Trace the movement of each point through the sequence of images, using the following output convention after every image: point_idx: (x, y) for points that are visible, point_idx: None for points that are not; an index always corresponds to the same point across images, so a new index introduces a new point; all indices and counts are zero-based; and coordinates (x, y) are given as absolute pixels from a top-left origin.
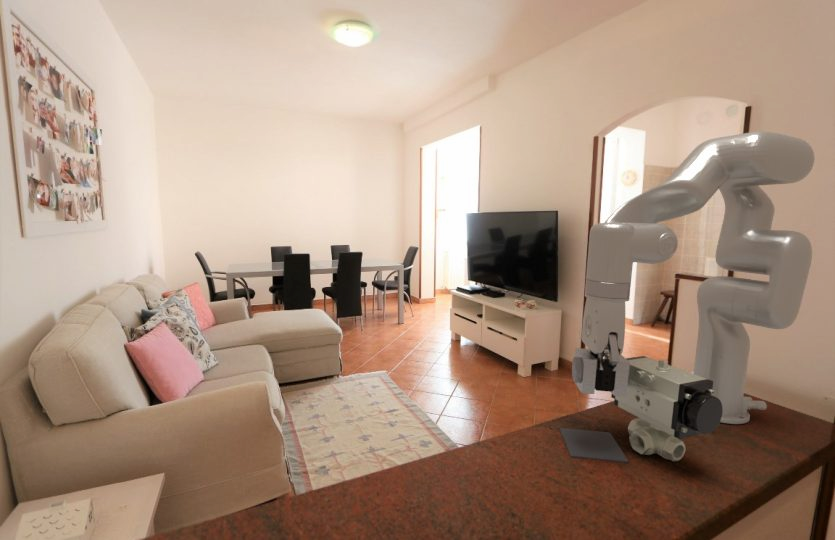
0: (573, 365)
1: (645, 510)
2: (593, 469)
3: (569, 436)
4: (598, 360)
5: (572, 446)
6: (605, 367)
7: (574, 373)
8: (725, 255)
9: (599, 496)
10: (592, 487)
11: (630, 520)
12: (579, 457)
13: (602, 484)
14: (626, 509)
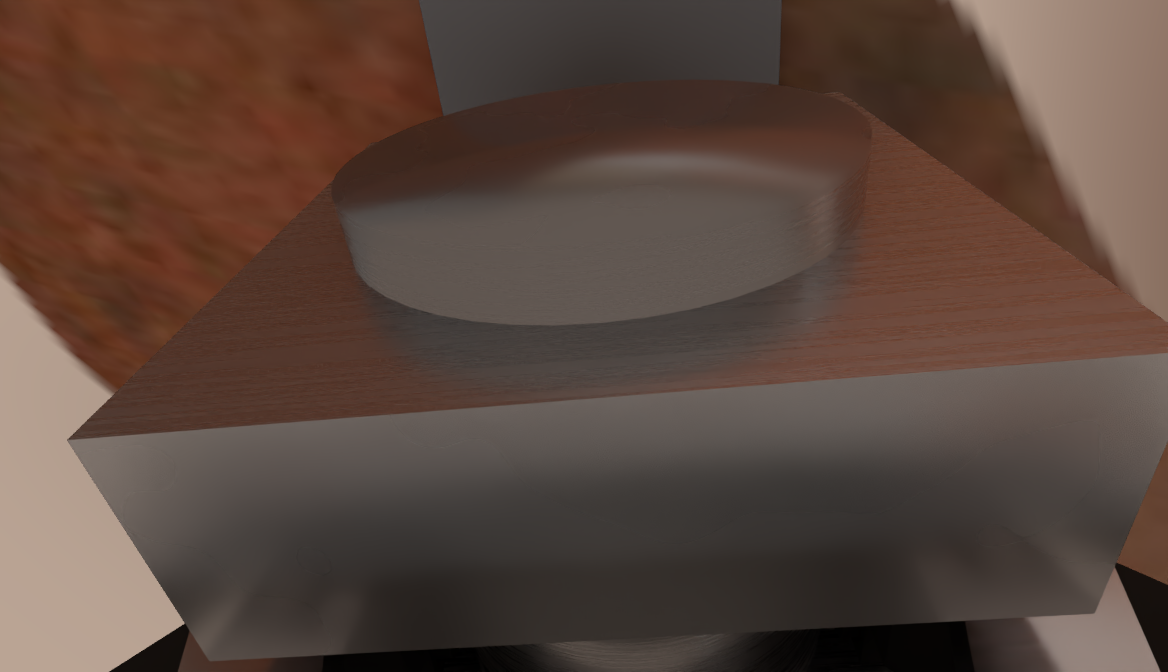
0: (744, 131)
1: (128, 275)
2: (342, 105)
3: (665, 4)
4: (294, 661)
5: (536, 8)
6: (134, 661)
7: (610, 113)
8: None
9: (105, 93)
10: (163, 69)
11: (14, 199)
12: (429, 39)
13: (221, 129)
14: (83, 200)
